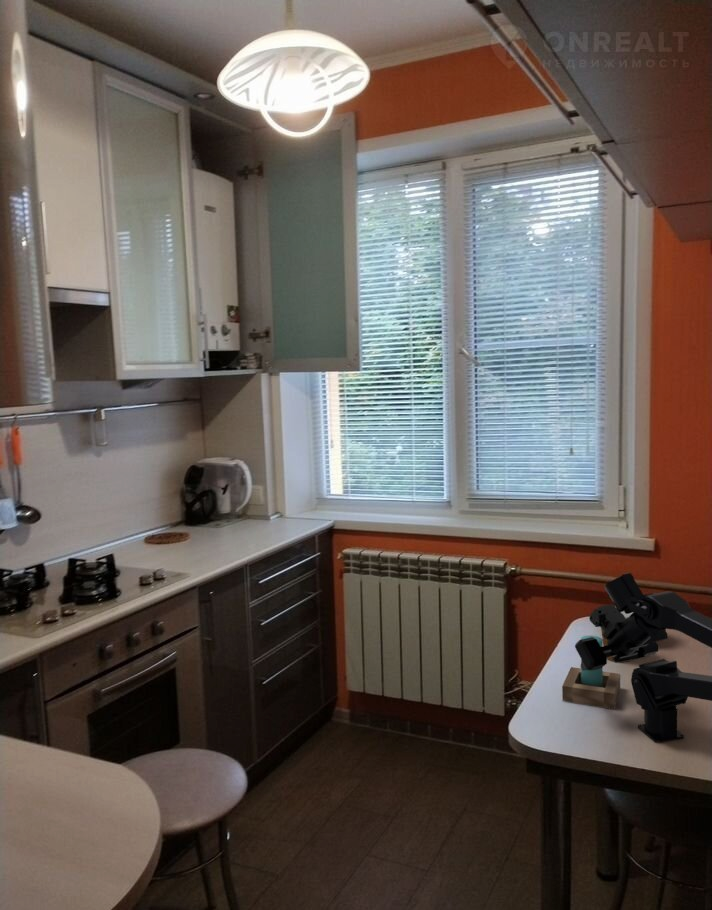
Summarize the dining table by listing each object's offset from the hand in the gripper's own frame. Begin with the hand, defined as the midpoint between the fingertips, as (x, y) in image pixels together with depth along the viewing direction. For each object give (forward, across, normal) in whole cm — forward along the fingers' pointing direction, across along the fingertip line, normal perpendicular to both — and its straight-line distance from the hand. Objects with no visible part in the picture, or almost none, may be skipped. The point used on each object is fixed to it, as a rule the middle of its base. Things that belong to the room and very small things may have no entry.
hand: (598, 664), depth 162 cm
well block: (+7, 0, +4) cm, 8 cm away
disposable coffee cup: (+17, -20, -5) cm, 27 cm away
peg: (+7, 0, +4) cm, 8 cm away
